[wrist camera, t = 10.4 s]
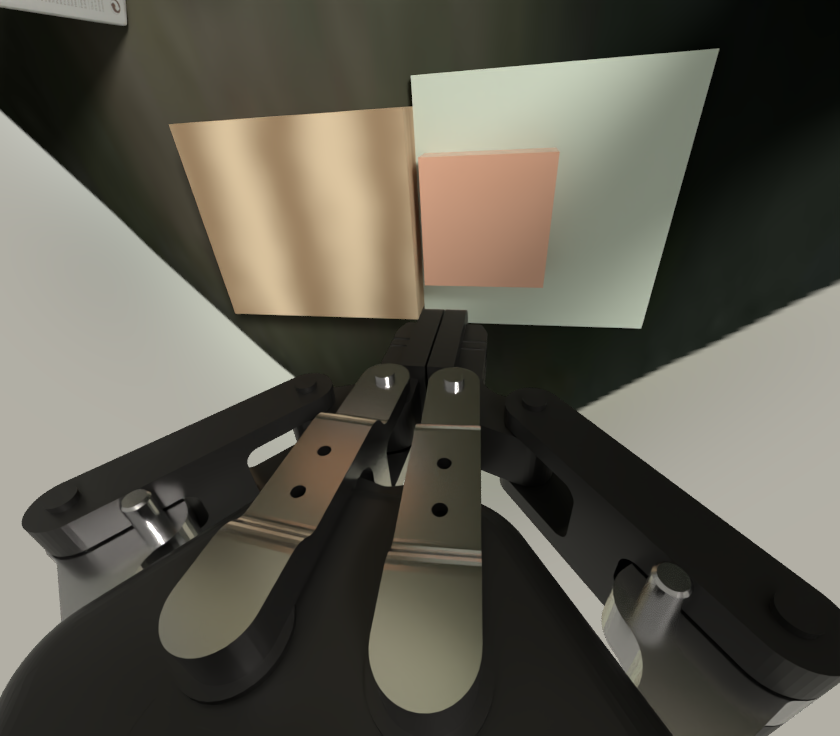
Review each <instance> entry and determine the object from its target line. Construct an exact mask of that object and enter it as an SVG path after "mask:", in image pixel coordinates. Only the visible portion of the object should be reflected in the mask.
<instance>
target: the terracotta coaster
mask: <svg viewBox="0 0 840 736" xmlns="http://www.w3.org/2000/svg"><path fill="white" fill-rule="evenodd" d="M559 153H560V151H559V150H558V149H557V148H556V147H554V148H531V149H508V150H485V151H461V152H438V153H424V154H423V155H421V156H419V157H418V166H419V185H420V204H421V224H422V243H423V262H424V281H425V285H430V286H479V287H528V288H543V283H544V275H545V267H546V259H547V251H548V243H549V234H550V226H551V218H552V210H553V202H554V194H555V186H556V178H557V169H558V161H559Z"/></svg>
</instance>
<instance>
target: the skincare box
mask: <svg viewBox="0 0 840 736" xmlns="http://www.w3.org/2000/svg"><path fill="white" fill-rule="evenodd" d="M0 7H2V8H9V9H15V10H21V11H28V12H34V13H40V14H47V15H53V16H59V17H66V18H73V19H79V20H86V21H92V22H99V23H105V24H112V25H119V26H126V25H127V13H126V0H0Z"/></svg>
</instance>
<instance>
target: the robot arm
mask: <svg viewBox="0 0 840 736" xmlns="http://www.w3.org/2000/svg"><path fill="white" fill-rule="evenodd" d="M486 357H487V332H486V330H485V329H484V327H483V326H482V325H472V324H468V311H467V310H449V309H446V310H444V309H423V310H422V312H421V314H420V317H419V319H418V321H417V323H413V322H407V323H406V324H404V325H403V326H402V327H400V328H399V329H398V330H397V332H396V334H395V336H394V339H393V340H392V342H391V344H390V346H389V348H388V350H387V352H386V354H385V356H384V358H383V360H382V362H381V364H379V365H376V366H373V367H371V368H369V369H367V370H366V371H365V372H364V373H363V374H362V375H361V377H360V378H359V380H358V381H357V383H356V384H354V385H348V386H341V387H333V385H332V381H331V379H330V378H329V377H328V376H326V375H324V374H320V373H309V374H304V375H300V376H298V377H295V378H293V379H291V380H289V381H286V382H284V383H282V384H280V385H278V386H275V387H273V388H271V389H269V390H267V391H264V392H262V393H260V394H258V395H256V396H253V397H251V398H249V399H247V400H245V401H242V402H240V403H238V404H236V405H233V406H231V407H229V408H227V409H225V410H223V411H220V412H218V413H216V414H213V415H211V416H209V417H207V418H205V419H202V420H201V421H198V422H196V423H194V424H192V425H189V426H187V427H185V428H183V429H180V430H178V431H176V432H174V433H172V434H170V435H167V436H165V437H163V438H160V439H158V440H156V441H154V442H152V443H150V444H147V445H145V446H143V447H141V448H138V449H136V450H134V451H132V452H130V453H127V454H125V455H123V456H121V457H119V458H116V459H114V460H112V461H110V462H107V463H105V464H103V465H101V466H99V467H96V468H94V469H92V470H90V471H88V472H86V473H83V474H81V475H79V476H77V477H74V478H72V479H70V480H68V481H66V482H63V483H61V484H59V485H57V486H55V487H54V488H52V489H50V490H49V491H47V492H46V493H44V494H43V495H42V496H40V497H39V498H38V499H37V500H36V501H34V502H33V504H32V505H31V506H30V507H29V508H28V509H27V511H26V512H25V514H24V516H23V519H22V526H23V528H24V529H25V530H26V531H27V532H28V533H29V534H30V535H31V536H32V537H33V538H34V539H35V540H36V541H37V542H38V543H39V544H40V545H41V546H42V547H43V548H44V549H45V551H46V553H47V555H48V556H49V557H50V558H51V559H52V560H53V561H54V562H55V563H56V564H57V569H58V583H59V596H60V610H61V623H60V624H58V625H57V626H56V627H55V628H54V629H53V630H52V631H51V632H49V633H48V634H47V635H46V636H45V637H44V638H43V639H42V640H41V641H40V642H39V643H38V644H37V645H36V646H35V648H34V649H33V650H32V651H31V652H30V653H29V655H28V656H27V657H26V658H25V660H24V661H23V662H22V663H21V665H20V666H19V668H18V669H17V670H16V672H15V673H14V674H13V676H12V677H11V679H10V681H9V683H8V684H7V686H6V688H5V689H4V691H3V693H2V695H1V697H0V736H768V735H769V734H771V733H772V732H773V731H775V730H776V729H777V728H779V727H780V726H781V725H783V724H784V723H785V722H787V721H788V720H789V719H791V718H792V717H794V716H795V715H796V714H798V713H799V712H800V711H802V710H803V709H804V708H806V707H807V706H809V705H810V704H811V703H813V702H814V701H815V700H817V699H818V698H819V697H821V696H822V695H823V694H825V693H826V692H828V691H829V690H830V689H832V688H833V687H834V686H836V685H837V684H838V683H840V609H839V608H838V607H837V606H836V605H835V604H834V603H833V602H832V601H831V600H829V599H828V598H827V597H826V596H824V595H823V594H822V593H821V592H819V591H818V590H817V589H815V588H814V587H812V586H811V585H810V584H809V583H807V582H806V581H805V580H803V579H802V578H801V577H799V576H798V575H796V574H795V573H794V572H792V571H791V570H790V569H788V568H787V567H786V566H784V565H783V564H782V563H780V562H779V561H778V560H776V559H775V558H773V557H772V556H771V555H770V554H768V553H767V552H765V551H764V550H763V549H762V548H760V547H759V546H757V545H756V544H755V543H753V542H752V541H751V540H749V539H748V538H747V537H745V536H744V535H743V534H741V533H740V532H739V531H737V530H736V529H735V528H733V527H732V526H730V525H729V524H728V523H727V522H725V521H724V520H722V519H721V518H720V517H718V516H717V515H715V514H714V513H713V512H712V511H710V510H709V509H708V508H706V507H705V506H704V505H702V504H701V503H700V502H698V501H697V500H696V499H694V498H693V497H692V496H690V495H689V494H687V493H686V492H685V491H683V490H682V489H681V488H679V487H678V486H677V485H675V484H674V483H673V482H671V481H670V480H669V479H667V478H666V477H665V476H663V475H662V474H661V473H659V472H658V471H657V470H655V469H654V468H653V467H651V466H650V465H649V464H647V463H646V462H644V461H643V460H642V459H640V458H639V457H638V456H636V455H635V454H634V453H632V452H631V451H630V450H628V449H627V448H626V447H624V446H623V445H621V444H620V443H619V442H618V441H616V440H615V439H613V438H612V437H611V436H609V435H608V434H607V433H605V432H604V431H603V430H601V429H600V428H599V427H597V426H596V425H595V424H593V423H592V422H591V421H589V420H588V419H586V418H585V417H584V416H583V415H581V414H580V413H579V412H577V411H576V410H575V409H573V408H572V407H570V406H569V405H568V404H566V403H565V402H564V401H562V400H561V399H560V398H558V397H557V396H556V395H554V394H553V393H551V392H549V391H546V390H543V389H538V388H522V389H518V390H515V391H513V392H512V393H510V394H509V395H508V396H507V397H505V396H502V395H499V394H496V393H494V392H492V391H491V390H489V389H488V388H487V387H486V386H485V375H486ZM292 429H293V431H294V434H295V437H296V440H297V443H296V444H295V445H293V446H291V447H289V448H288V449H286V450H284V451H282V452H280V453H279V454H277V455H275V456H273V457H271V458H269V459H267V460H266V461H264V462H262V463H260V464H258V465H256V466H254V467H250V468H249V467H248V464H247V459H248V457H249V455H250V454H251V452H252V451H254V450H255V449H256V448H258V447H260V446H262V445H264V444H266V443H267V442H269V441H271V440H273V439H275V438H277V437H279V436H281V435H283V434H285V433H287V432H288V431H290V430H292ZM481 470H483V471H485V472H488V473H490V474H493V475H495V476H498V477H500V483H501V485H502V487H503V489H504V490H505V491H506V492H507V494H508V495H509V496H510V497H511V498H512V499H513V501H514V502H515V503H516V504H517V505H518V506H519V507H520V508H521V510H522V511H523V512H524V513H525V514H526V516H527V517H528V518H529V519H530V520H531V521H532V523H533V524H534V525H535V526H536V527H537V528H538V530H539V531H540V532H541V533H542V534H543V535H544V536H545V538H546V539H547V540H548V541H549V542H550V543H551V545H552V546H553V547H554V548H555V549H556V550H557V552H558V553H559V554H560V555H561V556H562V557H563V558H564V560H565V561H566V562H567V563H568V564H569V565H570V567H571V568H572V569H573V570H574V571H575V572H576V573H577V575H578V576H579V577H580V578H581V579H582V581H583V582H584V583H585V584H586V585H587V586H588V587H589V589H590V590H591V591H592V592H593V593H594V594H595V596H596V597H597V598H598V599H599V600H600V601H601V603H602V604H603V605H604V609H603V612H602V628H603V632H604V635H605V638H606V640H607V642H608V644H609V646H610V647H611V649H612V650H613V652H614V653H615V655H616V657H617V658H618V660H619V662H620V664H621V666H622V667H621V666H620V665H619V663H618V662H617V661H616V659H615V658H614V657H613V655H612V654H611V653H610V651H609V650H608V649H607V648H606V646H605V645H604V643H603V642H602V641H601V639H600V638H599V637H598V635H597V634H596V633H595V631H594V630H593V629H592V628H591V626H590V625H589V624H588V622H587V621H586V620H585V618H584V617H583V616H582V614H581V613H580V612H579V610H578V609H577V608H576V606H575V605H574V604H573V602H572V601H571V600H570V598H569V597H568V596H567V594H566V593H565V592H564V590H563V589H562V588H561V587H560V585H559V584H558V583H557V581H556V580H555V579H554V577H553V576H552V575H551V573H550V572H549V571H548V569H547V568H546V567H545V565H544V564H543V563H542V561H541V560H540V559H539V557H538V556H537V555H536V554H535V552H534V551H533V550H532V548H531V547H530V546H529V544H528V543H527V542H526V540H525V539H524V538H523V536H522V535H521V534H520V533H519V531H518V530H517V529H516V528H515V527H514V526H513V525H512V524H511V523H510V522H508V521H507V520H506V519H505V518H504V517H502V516H501V515H500V514H498V513H497V512H495V511H494V510H492V509H490V508H488V507H486V506H484V505H482V504H481ZM404 480H405V482H404ZM403 482H404V485H403Z"/></svg>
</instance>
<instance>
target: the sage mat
mask: <svg viewBox="0 0 840 736" xmlns="http://www.w3.org/2000/svg"><path fill="white" fill-rule="evenodd" d="M718 52H719V48H718V49H707V50H695V51H684V52H673V53H661V54H650V55H639V56H627V57H616V58H605V59H593V60H582V61H571V62H559V63H548V64H537V65H525V66H514V67H503V68H491V69H480V70H469V71H457V72H446V73H435V74H423V75H412V76H411V88H412V105H413V121H414V138H415V154H416V171H417V188H418V204H419V221H420V237H421V254H422V270H423V287H424V304H425V309H444V310H446V309H449V310H467V311H468V323H489V324H520V325H550V326H581V327H611V328H641V327H642V324H643V320H644V317H645V313H646V310H647V306H648V302H649V299H650V295H651V292H652V288H653V284H654V281H655V277H656V274H657V270H658V267H659V263H660V259H661V256H662V252H663V249H664V245H665V242H666V238H667V234H668V231H669V227H670V224H671V220H672V217H673V213H674V209H675V206H676V202H677V199H678V195H679V191H680V188H681V184H682V181H683V177H684V174H685V170H686V166H687V163H688V159H689V156H690V152H691V149H692V145H693V141H694V138H695V134H696V131H697V127H698V124H699V120H700V116H701V113H702V109H703V106H704V102H705V98H706V95H707V91H708V88H709V84H710V81H711V77H712V73H713V70H714V66H715V63H716V59H717V56H718ZM554 147H556V148H557V149H558V150H559V151H560V153H559V161H558V169H557V178H556V186H555V194H554V202H553V210H552V218H551V226H550V234H549V243H548V251H547V259H546V267H545V275H544V283H543V288H528V287H479V286H430V285H425V281H424V262H423V243H422V224H421V204H420V185H419V166H418V157H419V156H421V155H423V154H424V153H438V152H461V151H485V150H508V149H531V148H554Z"/></svg>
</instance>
